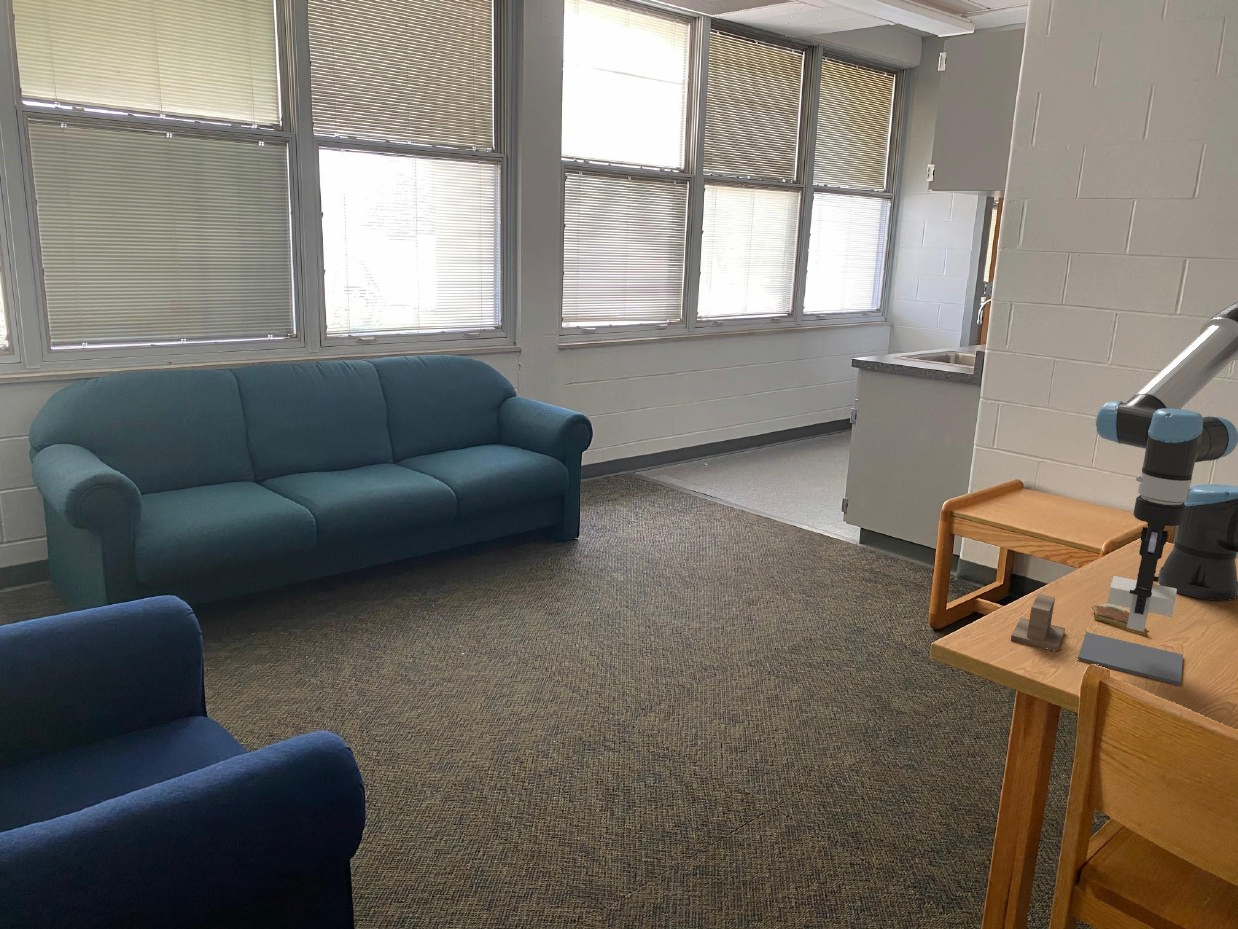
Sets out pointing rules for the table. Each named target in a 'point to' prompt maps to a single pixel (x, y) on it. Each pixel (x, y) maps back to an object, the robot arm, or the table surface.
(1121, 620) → the shard
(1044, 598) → the walnut stand
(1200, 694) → the table surface
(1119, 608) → the sign
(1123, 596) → the card box
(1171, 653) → the rubber mat
